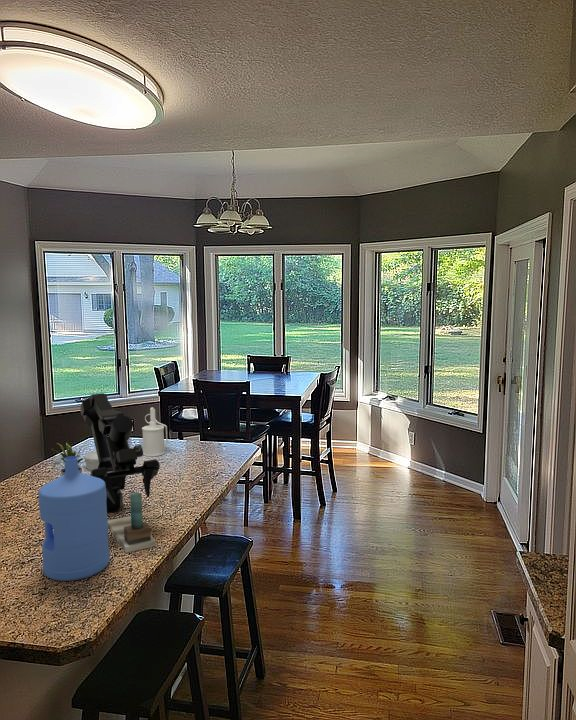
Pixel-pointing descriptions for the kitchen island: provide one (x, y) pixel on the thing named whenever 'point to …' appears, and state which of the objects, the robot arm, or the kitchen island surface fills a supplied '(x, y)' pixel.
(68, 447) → the house plant
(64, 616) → the kitchen island surface
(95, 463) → the ramekin
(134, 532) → the teal brown tall piece
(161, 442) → the white oil can
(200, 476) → the kitchen island surface
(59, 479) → the water jug
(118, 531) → the off-white shallow tray
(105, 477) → the robot arm
